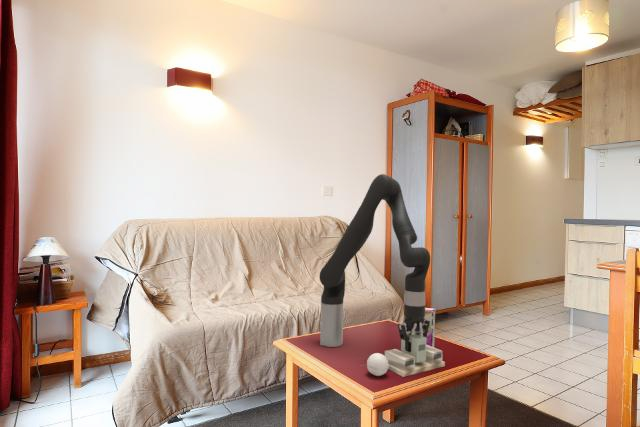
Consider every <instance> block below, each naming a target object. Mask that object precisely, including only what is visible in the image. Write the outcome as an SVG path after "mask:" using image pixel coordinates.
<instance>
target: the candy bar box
mask: <svg viewBox="0 0 640 427" xmlns="http://www.w3.org/2000/svg"><path fill="white" fill-rule="evenodd" d="M423 318H424V319H425V320H428V321H430V325H429V329H428V334H427V337H425V338H426V345H429V346H431V347H434V348H435V338H436V336H435V335H436V334H435V332H436V330H435V329H436V308H429V307H425V317H423ZM409 332H411V331H409ZM424 332H425V330H424ZM414 334H416V333H415V332H414Z"/></svg>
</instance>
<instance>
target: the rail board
mask: <svg viewBox="0 0 640 427" xmlns="http://www.w3.org/2000/svg"><path fill="white" fill-rule="evenodd" d="M384 356H385V357H386V358H387V361H388V370H389V371H391V372H392V373H394V374H396V375H399V376H401V377H402V378H404V377H405V378H406V377H407V376H412V375H416V374H419V373H424V372H427V371H432V370H436V369H439V368H443V367H445V366H446V362H445V361H443V350H441V349H439V348H436V347H435V346H434V347H431V346H429V345H426V361H422V362H418V363H416V362H415V357H413V356H411V355H409V354H406V353H404V352H402V351H401V350H399V349H397V348H393V349H388V350H384Z"/></svg>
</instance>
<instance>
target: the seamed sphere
mask: <svg viewBox="0 0 640 427" xmlns="http://www.w3.org/2000/svg"><path fill="white" fill-rule="evenodd" d="M360 366H363V364H362V365H360ZM366 368H367V370H368V372H369V373H370V374H372V375H373V376H376V377H380V376H381V377H382V376H383V375H384V374H386V373H387V371H388V370H389V369H388V361H387V358H386V357H385V354H382V353H379V352H375V353H372V354H371V355H369V356H368V358H367V361H366Z"/></svg>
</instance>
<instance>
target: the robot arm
mask: <svg viewBox="0 0 640 427" xmlns="http://www.w3.org/2000/svg"><path fill="white" fill-rule="evenodd" d="M403 196H404V195H403V192H402V188H401V185H400V183H399V182H398V181H397V180H396V179H395V178H393V177H391V176H389V175H387V174H385V173H380V174H379V175H377V176H376V177H375V178H374V179H373V181H371V184H370V185H369V187H368V189H367V192H366V194H365V196H364V198H363V200H362V202H361V205H360V206H359V207H358V209H357V211H356V213H355V215H354V216H353V218H352V219H351V221H350V223H349V224H348V226H347V227H346V230H345V231H344V233H343V235H342V237H341V239H340V240H339V242H338V244H337V246H336V248H335V250H334V252H333V253H332V255H331V256H330V258H329V259H328V260H327V262H326V263H325V264H324V265H323V267H322V269H320V272H319V281H320V283H321V284H322V286H323V289H322V290H323V291H322V293H321V298H320V301H321V302H320V324H319V327H320V328H319V330H320V331H319V334H320V335H319V336H320V338H319V342H320V343H319V346H322V347H323V346H324V347H329V348H334V347H335V348H336V347H341V346H343V343H344V341H343V340H344V338H343V337H344V336H343V332H344V298H345V294H346V293H345V292H346V272H345V270H346V269H347V267H348V265H349V264H350V262H351V260H352V259H353V258H354V257H355V256H356V255H357V253H358V252H359V251H360V250H361V249H362V248H363V246H364V245H365V243H366V242H367V240H368V238H369V237H370V236H371V233H372V232H373V227H374V223H375V222H374V219H375V213H376V210H377V208H378V207H379V205H380V203H381V202H382V200H383V201H385V203H386V204H387V206H388V207H389V209H390V211H391V216H392V218H391V224H392V229H393V231H394V232H393V233H394V234H395V236H396V240H397V241H398V249H399V258H400V261H401V263H402V265H403V266H404V267H406V268H414V269H413V271H412V272H410V273H407V274H406V275H405V278H404V295H403V315H404V321H403V322H401V323H397V328H398V333H399V337H400V340H401V339H402V340H405V350H406V351H407V352H411V340H412V336H413V335H414V332H415V333H416V335H420V336H422V337H427V334H428V329H429V325H430V321H428V320H425V319H424V318H423V317H425V308H426V278H427V275H428V271H429V267H430V264H431V253H430V252H429V250H428V249H427V248H426V247H424V246H423V247H419V246H418V247H412V245H414V244H416V242H417V241H418V235H417V232H416V230H415V229H414V226H413V224H412V222H411V219H410V217H409V214H408V211H407V208H406V204H405V200H404V197H403ZM424 330H425V332H424ZM409 331H411V332H409ZM408 335H409V338H408Z"/></svg>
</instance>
